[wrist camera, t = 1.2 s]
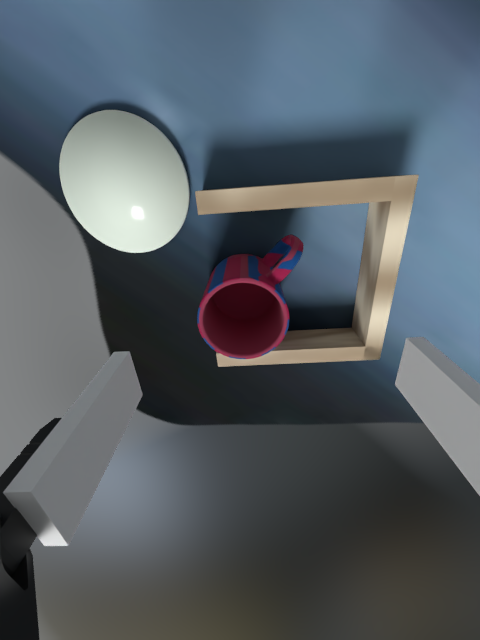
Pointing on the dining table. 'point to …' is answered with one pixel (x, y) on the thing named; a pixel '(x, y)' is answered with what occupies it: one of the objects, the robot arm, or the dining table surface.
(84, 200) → the white round flat disc
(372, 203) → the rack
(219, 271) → the mug
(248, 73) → the dining table surface
